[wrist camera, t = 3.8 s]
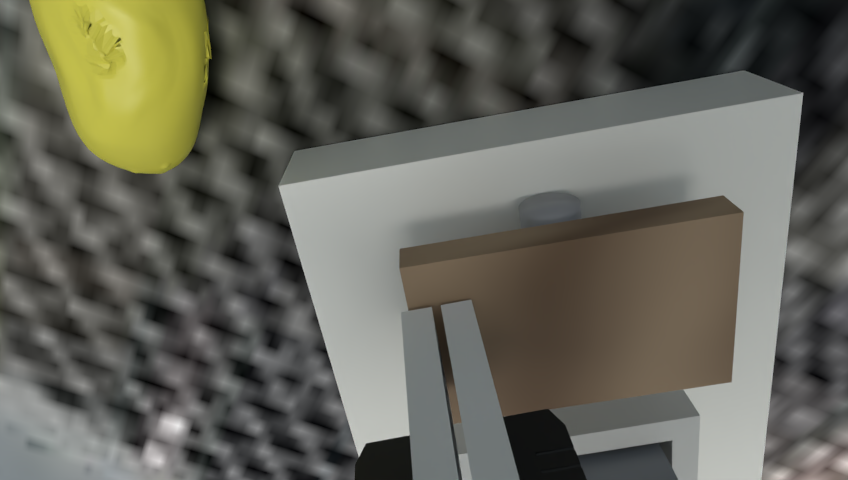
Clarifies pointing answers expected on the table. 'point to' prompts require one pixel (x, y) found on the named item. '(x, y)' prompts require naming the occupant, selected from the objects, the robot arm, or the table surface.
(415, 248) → the walnut rocker
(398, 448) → the robot arm
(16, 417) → the table surface
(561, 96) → the table surface
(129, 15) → the lemon
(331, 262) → the switch housing
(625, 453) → the charcoal button
